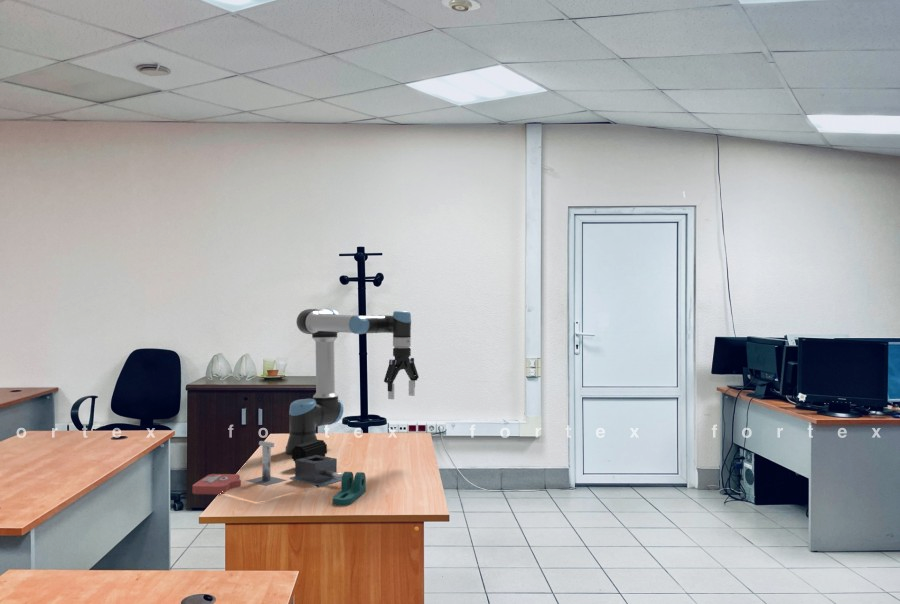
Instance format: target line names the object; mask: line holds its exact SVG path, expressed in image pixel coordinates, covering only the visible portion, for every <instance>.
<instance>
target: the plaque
mask: <svg viewBox="0 0 900 604" xmlns="http://www.w3.org/2000/svg"><path fill="white" fill-rule="evenodd" d="M241 486H242V480H241V479H240V474H238V473H237V474H236V473H233V474H231V473H222V474H221V473H211V474H207V475H206V476H205V477H202V478H201V479H199V480H198V481H197V482H195V483H194V484H192V491H191V492H192V494H193V495H224V494H226V492H228V491H229V490H230V489H236V488H241ZM222 491H223V492H222ZM220 493H221V494H220Z"/></svg>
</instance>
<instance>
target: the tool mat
mask: <svg viewBox="0 0 900 604" xmlns="http://www.w3.org/2000/svg"><path fill="white" fill-rule="evenodd" d="M245 481H246V482H249V483H253V484H257V485H262V486H266V487H267V486H271V485H276V484H279V483H283V482H286V481H288V479H285V478H280V477H275V476H271V478H270V481H262V476H259V477H254V478H251V479H247V480H245Z"/></svg>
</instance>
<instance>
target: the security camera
mask: <svg viewBox="0 0 900 604" xmlns="http://www.w3.org/2000/svg"><path fill="white" fill-rule="evenodd" d="M327 453H328V445H327V444H326V442H325V441H324V439H317V440H313V441H310V442H306V443H303V444H299V445H296V446H295V447H294V448H293V449H292V455H291V460H292V461H293V462H295V460H297V459H301V458H306V457H310V456H314V455H320V456H325V457H326V454H327Z"/></svg>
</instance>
